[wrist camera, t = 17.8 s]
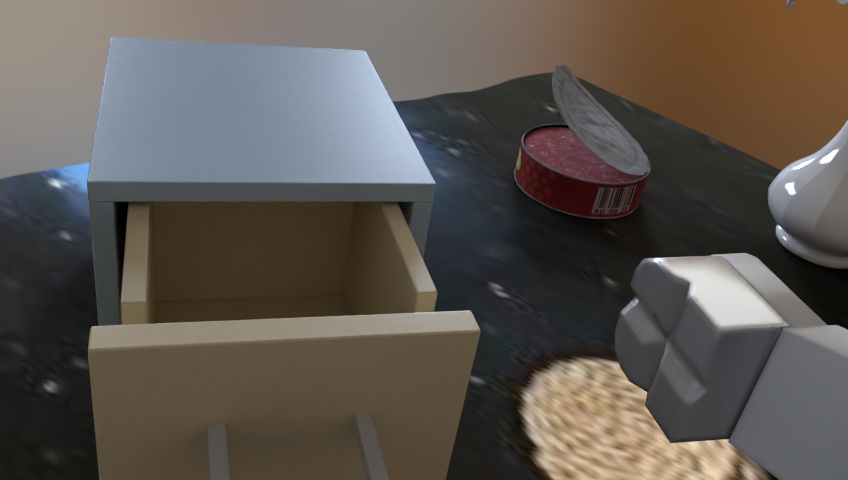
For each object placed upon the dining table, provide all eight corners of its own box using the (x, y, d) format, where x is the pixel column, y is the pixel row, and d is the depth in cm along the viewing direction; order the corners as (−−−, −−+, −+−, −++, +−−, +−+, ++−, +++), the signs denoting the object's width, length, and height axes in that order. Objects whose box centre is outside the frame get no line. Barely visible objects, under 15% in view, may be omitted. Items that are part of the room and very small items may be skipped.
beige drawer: (471, 629, 29) (531, 433, 24) (97, 690, 26) (72, 475, 20) (367, 302, 45) (389, 140, 40) (124, 311, 41) (113, 134, 36)
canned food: (552, 203, 70) (609, 99, 68) (640, 254, 63) (706, 138, 61) (465, 162, 62) (528, 43, 61) (554, 215, 55) (628, 81, 53)
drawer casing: (400, 389, 41) (436, 184, 35) (105, 410, 37) (86, 181, 31) (345, 222, 53) (365, 50, 47) (121, 224, 49) (110, 36, 43)
